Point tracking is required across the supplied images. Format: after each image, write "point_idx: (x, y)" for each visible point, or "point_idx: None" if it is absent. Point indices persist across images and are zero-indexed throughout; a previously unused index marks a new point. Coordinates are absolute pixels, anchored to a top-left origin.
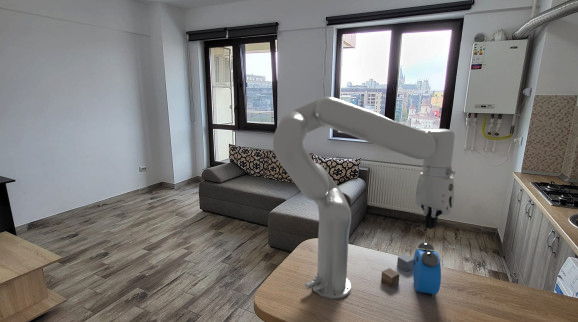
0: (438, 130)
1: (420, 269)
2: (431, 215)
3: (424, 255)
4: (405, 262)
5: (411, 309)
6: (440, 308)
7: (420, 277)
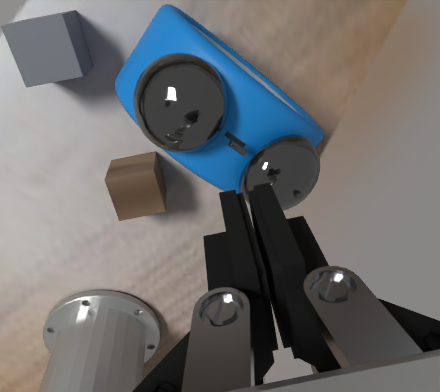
0: None
1: None
2: (315, 367)
3: None
4: (74, 76)
5: None
6: (310, 107)
7: None
